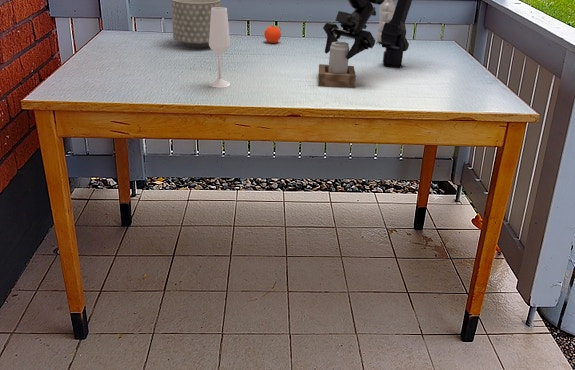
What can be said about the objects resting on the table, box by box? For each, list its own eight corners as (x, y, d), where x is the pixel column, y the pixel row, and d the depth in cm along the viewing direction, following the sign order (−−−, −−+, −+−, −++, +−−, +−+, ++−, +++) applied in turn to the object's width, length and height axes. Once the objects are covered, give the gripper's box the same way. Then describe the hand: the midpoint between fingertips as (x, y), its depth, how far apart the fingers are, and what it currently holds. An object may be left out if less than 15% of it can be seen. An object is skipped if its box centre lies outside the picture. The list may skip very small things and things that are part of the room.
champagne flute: (211, 80, 189) (209, 6, 178) (231, 81, 189) (231, 7, 178) (208, 86, 183) (206, 10, 172) (229, 87, 183) (228, 11, 172)
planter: (196, 37, 243) (195, -8, 235) (230, 45, 233) (230, -1, 225) (163, 45, 229) (160, -2, 221) (198, 53, 220) (196, 4, 211)
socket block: (352, 77, 199) (353, 66, 198) (354, 87, 189) (355, 75, 187) (318, 75, 200) (319, 64, 198) (318, 85, 189) (319, 74, 187)
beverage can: (341, 75, 197) (344, 40, 192) (349, 80, 192) (353, 45, 187) (324, 76, 195) (327, 41, 190) (332, 82, 190) (335, 46, 184)
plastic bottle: (392, 44, 245) (398, -4, 236) (376, 44, 245) (381, -5, 236) (390, 41, 251) (395, -7, 241) (374, 40, 251) (379, -7, 241)
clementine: (275, 39, 245) (275, 22, 242) (285, 43, 241) (286, 25, 237) (260, 42, 240) (261, 24, 237) (271, 45, 236) (272, 28, 232)
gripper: (328, -3, 191) (304, 35, 189) (373, 6, 180) (348, 46, 177) (341, 18, 200) (318, 55, 198) (385, 28, 188) (361, 67, 186)
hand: (336, 55), depth 189 cm, fingers open, 9 cm apart
